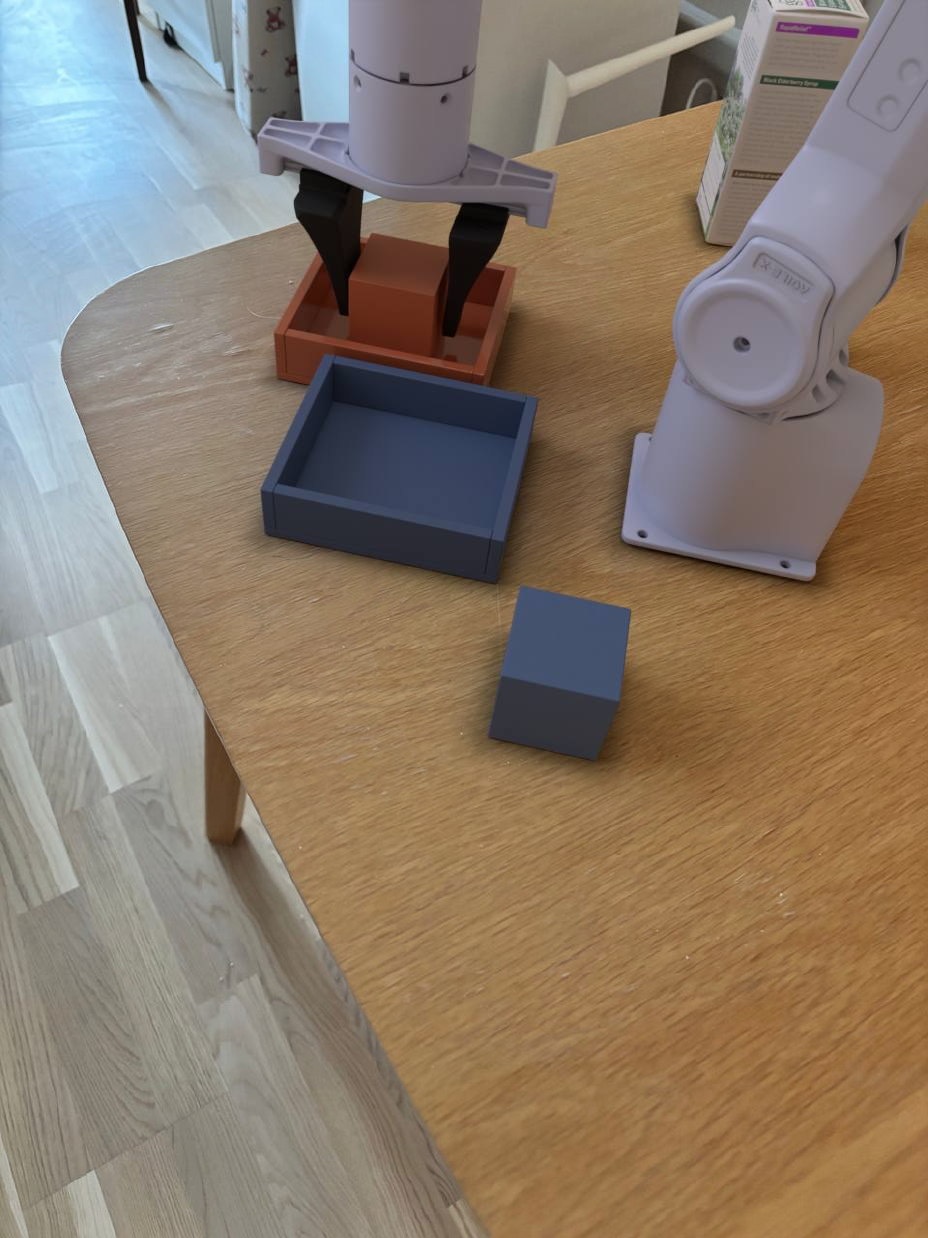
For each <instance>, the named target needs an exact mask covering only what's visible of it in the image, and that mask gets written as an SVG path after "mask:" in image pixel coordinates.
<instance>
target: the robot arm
mask: <svg viewBox="0 0 928 1238" xmlns="http://www.w3.org/2000/svg"><path fill="white" fill-rule="evenodd" d="M482 7H483V0H348V121H314V120H313V121H312V120H309V121H308V120H294V119H285V118H279V117H273V116H270V117H269V118H267V119H268V120H267V121H266V122H265V124H264V125H263V127H262V128H261V129H260V131H259V132H258V134H257V135H256V137H257V151H258V160H259V161H258V163H259V173H261V174H264V175H268V176H273V177H281V176H282V175H283V174H284V172H290V173H294V174H299V184H298V192H297V194H296V195H295V196H294V199H293V210H294V214H295V218H296V220H297V221H298V222H299V223H300V225H301V226H302V227H303V230H305V232H306V233H307V235H308V236H309V239H310V240H311V241H312V243H313V245H314V246H315V249H316V250H317V252H319V254H320V256H321V258H322V261H323V263H324V265H325V268H326V270H327V273H328V275H329V278H330V281H331V284H332V287H333V290H334V294H335V297H336V301H337V305H338V310H339V314H340V315H343V316H348V317H349V277H350V275H351V273H352V271H353V269H354V267H355V265H356V263H357V261H358V259H359V257H360V255H361V242H360V237H362V236H361V233H362V232H361V231H362V218H363V217H362V215H363V205H364V204H363V203H364V193H365V192H368V193H370V194H371V195H374V196H377V197H380V198H383V199H387V200H391V201H396V202H397V201H398V202H405V203H448V204H453V205H457V206H460V208H459V210H458V212H457V214H456V216H455V219H454V221H453V223H452V225H451V229H450V231H449V234H448V248H449V278H448V293H447V299H446V305H445V310H444V316H443V322H442V336H446V337H451V338H453V337H455V335H456V332H457V329H458V326H459V324H460V321H461V317H462V312H463V307H464V303H465V301H466V299H467V297H468V295H469V293H470V291H471V289H472V287H473V285H474V283H475V282H476V280H477V278H478V277H479V275H480V274H481V272H482V271H483V269H484V268H485V266H486V265H487V264H488V262H491V260H492V259H493V258H494V255H495V254H496V253H497V251H498V249H499V247H500V245H501V243H502V240H503V238H504V235H505V232H506V228H507V225H508V223H509V219H510V217H511V216H515V217H520V218H524V219H525V221H524V222H525V224H526V225H527V226H529V227H533V228H538V229H543V230H545V229H547V228H548V225H549V221H550V218H551V214H552V211H553V207H554V201H555V195H556V190H557V189H556V188H557V183H558V176H559V173H558V172H557V171H553V170H548V169H543V168H540V167H536V166H533V165H530V164H527V163H524V162H521V161H518V160H516V159H513V158H511V157H508V156H506V155H503V154H501V153H498V152H496V151H493V150H491V149H488V148H486V147H483V146H481V145H479V144H476V143H473V142H472V141H470V133H471V126H472V125H471V124H472V114H473V113H472V112H473V104H474V102H473V101H474V93H475V81H476V72H477V61H478V60H477V59H478V50H479V49H478V48H479V40H480V39H479V38H480V27H481V17H482ZM927 201H928V0H884V1H883V3H882V4H881V6H880V8H879V9H878V12H877V14H876V16H875V17H874V19H873V21H872V22H871V24H870V26H869V28H868V29H867V30H866V32H865V34H864V37H863V40H862V42H861V44H860V46H859V47H858V49H857V51H856V53H855V55H854V56H853V58H852V60H851V62H850V64H849V65H848V67H847V69H846V71H845V72H844V74H843V76H842V78H841V80H840V81H839V83H838V85H837V87H836V89H835V90H834V92H833V94H832V96H831V98H830V99H829V101H828V103H827V105H826V107H825V108H824V110H823V112H822V114H821V116H820V117H819V119H818V121H817V123H816V125H815V126H814V128H813V130H812V132H811V133H810V135H809V137H808V139H807V141H806V142H805V144H804V145H803V147H802V148H801V150H800V151H799V153H798V154H797V155H796V157H795V158H794V159H793V161H792V162H791V164H790V165H789V166H788V168H787V169H786V170H785V172H784V173H783V174H782V176H781V177H780V179H779V180H778V181H777V183H776V184H775V185H774V187H773V188H772V189H771V191H770V192H769V193H768V195H767V196H766V198H765V199H764V200H763V202H762V203H761V204H760V206H759V207H758V209H757V210H756V211H755V213H754V214H753V216H752V217H751V218H750V220H749V221H748V223H747V225H746V227H745V229H744V231H743V232H742V234H741V236H740V238H739V240H738V241H737V243H736V244H735V245H734V246H731V247H730V249H729V250H728V251H727V252H726V253H725V254H724V255H722V256H721V258H719V259H718V260H717V261H715V262H714V263H712V264H710V265H709V266H708V267H706V268H705V269H703V270H702V271H701V272H700V273H698V274H697V275H696V276H695V277H693V278H692V279H691V280H690V282H688V283H687V285H686V286H685V287H684V289H683V291H682V292H681V294H680V296H679V298H678V299H677V302H676V305H675V309H674V311H673V316H672V325H671V331H672V342H673V345H674V351H675V353H676V356H677V357H676V360H675V364H674V366H673V369H672V373H671V376H670V378H669V382H668V384H667V389H666V391H665V394H664V397H663V401H662V403H661V407H660V410H659V413H658V416H657V419H656V422H655V426H654V428H653V430H652V431H653V432H652V433H649V432H639V433H637V434H636V435H635V436H634V441H633V448H632V455H631V461H630V469H629V470H630V471H629V474H628V475H629V476H628V483H627V491H626V497H625V505H624V512H623V513H624V514H623V519H622V526H621V534H620V537H621V539H622V541H623V542H625V544H629V545H632V546H637V547H641V548H645V549H646V548H647V549H650V550H651V549H652V550H656V551H661V552H665V553H670V554H673V555H680V556H684V557H690V558H693V559H698V560H703V561H708V562H713V563H717V564H721V565H726V566H732V567H736V568H741V569H745V570H750V571H755V572H758V573H759V572H760V573H765V574H770V575H774V576H778V577H782V578H783V577H784V578H788V579H793V580H796V581H797V580H798V581H801V582H810V581H812V580H813V579H814V577H815V575H816V573H817V560H818V559H819V558H820V556H821V554H822V552H823V550H824V549H825V547H826V546H827V544H828V542H829V540H830V539H831V536H832V535H833V533H834V532H835V530H836V528H837V526H838V524H839V523H840V521H841V520H842V518H843V516H844V514H845V512H846V510H847V509H848V507H849V505H850V503H851V502H852V500H853V498H854V496H855V495H856V493H857V491H858V489H859V488H860V486H861V484H862V483H863V481H864V479H865V476H866V474H867V473H868V470H869V468H870V465H871V463H872V460H873V458H874V454H875V452H876V449H877V445H878V443H879V439H880V436H881V431H882V427H883V421H884V412H885V391H884V386H883V384H882V382H881V380H880V379H878V378H877V377H875V376H872V375H869V374H866V373H864V372H861V371H858V370H856V369H854V368H852V367H849V361H850V353H849V351H850V350H849V343H850V342H849V339H850V338H851V336H852V335H853V334H854V333H855V331H856V330H857V328H858V327H859V326H860V325H861V323H862V322H863V321H864V320H865V319H866V317H867V316H868V315H869V313H870V312H871V311H872V310H873V308H875V307H876V306H877V305H878V304H880V303H881V302H882V301H884V300H885V298H886V297H887V296H888V295H889V293H891V290H892V289H893V288H894V286H895V285H896V283H897V282H898V279H899V277H900V275H901V272H902V269H903V265H904V262H905V261H904V260H905V253H906V245H907V239H908V235H909V232H910V229H911V227H912V224H913V222H914V220H915V218H916V217H917V215H918V214H919V212H920V210H921V209H922V208H923V206H924V205H925V204H926V202H927Z"/></svg>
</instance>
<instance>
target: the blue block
mask: <svg viewBox="0 0 928 1238" xmlns="http://www.w3.org/2000/svg"><path fill="white" fill-rule="evenodd" d="M517 593H518V594H517V597H516V602H515V607H514V612H513V615H512V621H511V624H510V625H511V626H510V630H509V634H508V639H507V643H506V648H505V653H504V657H503V662H502V666H501V672H500V676H499V680H498V685H497V690H496V695H495V699H494V703H493V708H492V713H491V717H490V722H489V726H488V731H487V737H488V738H492V739H496V740H501V741H504V742H509V743H513V744H519V745H522V746H527V747H532V748H536V749H540V750H545V751H549V752H554V753H558V754H563V755H568V756H573V757H576V758H581V759H586V760H590V761H597V760H598V757H599V755H600V753H601V750H602V747H603V746H604V743H605V740H606V738H607V735H608V733H609V730H610V727H611V725H612V723H613V720H614V717H615V715H616V713H617V710H618V708H619V705H620V703H621V700H622V689H623V683H624V675H625V667H626V665H625V664H626V659H627V658H626V657H627V649H628V641H629V634H630V625H631V616H632V609H631V608H629V607H624V606H619V605H615V604H610V603H604V602H600V601H596V600H591V599H586V598H582V597H578V596H573V595H567V594H565V593H560V592H554V591H550V590H545V589H540V588H535V587H531V586H527V585H520V586H519V588H518V592H517Z"/></svg>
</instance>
